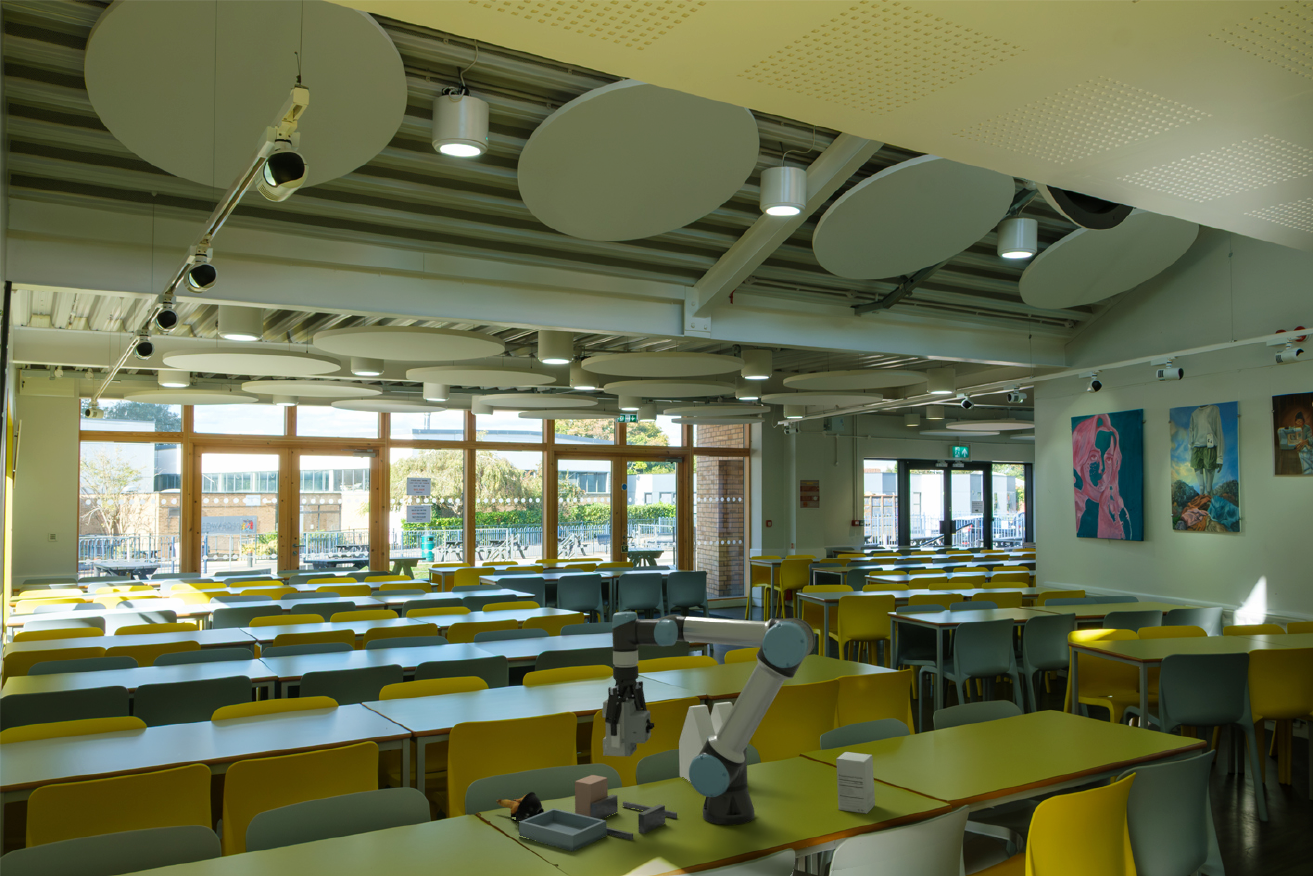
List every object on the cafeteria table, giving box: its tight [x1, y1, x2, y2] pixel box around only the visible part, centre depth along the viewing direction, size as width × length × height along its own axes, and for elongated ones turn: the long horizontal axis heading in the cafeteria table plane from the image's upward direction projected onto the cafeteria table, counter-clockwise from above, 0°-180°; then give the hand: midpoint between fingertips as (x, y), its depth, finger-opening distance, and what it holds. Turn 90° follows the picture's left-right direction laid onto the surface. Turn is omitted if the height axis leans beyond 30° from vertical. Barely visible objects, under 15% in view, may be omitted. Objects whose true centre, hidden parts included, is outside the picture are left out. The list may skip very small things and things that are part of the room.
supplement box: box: [836, 751, 876, 815], centre depth 256 cm, size 9×9×15 cm
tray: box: [518, 808, 608, 852], centre depth 235 cm, size 20×14×4 cm
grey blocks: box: [591, 794, 678, 841], centre depth 246 cm, size 20×22×5 cm
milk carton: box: [678, 701, 734, 782], centre depth 287 cm, size 19×15×25 cm
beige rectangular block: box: [574, 774, 609, 817], centre depth 254 cm, size 6×8×10 cm
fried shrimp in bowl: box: [496, 791, 545, 823], centre depth 250 cm, size 9×11×18 cm
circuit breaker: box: [601, 698, 655, 757], centre depth 248 cm, size 8×14×15 cm, turn 77°
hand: (626, 743), depth 248 cm, fingers closed on circuit breaker, 10 cm apart
